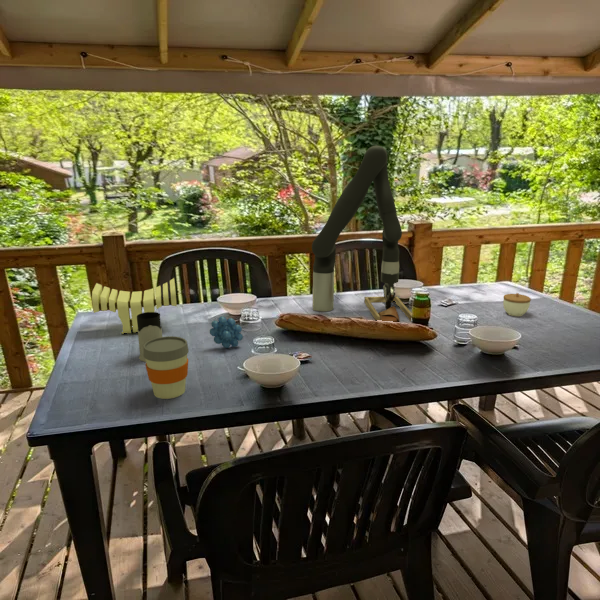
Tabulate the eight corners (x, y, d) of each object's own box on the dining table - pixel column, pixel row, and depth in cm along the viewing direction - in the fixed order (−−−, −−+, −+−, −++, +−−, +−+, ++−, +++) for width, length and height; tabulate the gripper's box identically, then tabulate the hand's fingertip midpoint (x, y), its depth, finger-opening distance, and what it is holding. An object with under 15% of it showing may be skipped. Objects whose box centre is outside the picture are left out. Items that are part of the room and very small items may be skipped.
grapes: (210, 353, 171) (208, 321, 168) (210, 346, 178) (208, 315, 174) (244, 351, 173) (242, 319, 170) (242, 344, 180) (241, 313, 176)
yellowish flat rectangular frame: (377, 322, 203) (377, 316, 202) (364, 301, 231) (364, 296, 230) (413, 321, 203) (414, 315, 203) (396, 301, 231) (397, 296, 231)
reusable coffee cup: (184, 378, 152) (181, 333, 148) (196, 395, 142) (193, 347, 138) (143, 387, 147) (138, 340, 142) (152, 405, 136) (147, 355, 132)
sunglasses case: (376, 312, 216) (384, 300, 214) (389, 320, 216) (398, 308, 214) (379, 326, 199) (388, 313, 197) (393, 335, 199) (403, 321, 197)
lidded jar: (502, 316, 209) (504, 295, 206) (500, 309, 219) (503, 289, 216) (529, 319, 206) (532, 297, 203) (527, 311, 216) (529, 291, 213)
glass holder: (140, 363, 164) (135, 321, 159) (136, 348, 176) (132, 308, 172) (167, 359, 167) (163, 317, 162) (161, 345, 179) (158, 305, 175)
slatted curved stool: (97, 338, 186) (91, 293, 180) (101, 325, 200) (96, 283, 195) (178, 331, 193) (175, 287, 188) (177, 318, 208) (174, 278, 203)
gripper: (378, 267, 217) (376, 305, 222) (385, 274, 204) (383, 314, 209) (394, 267, 217) (392, 304, 222) (402, 274, 205) (400, 314, 210)
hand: (388, 309), depth 216 cm, fingers closed
